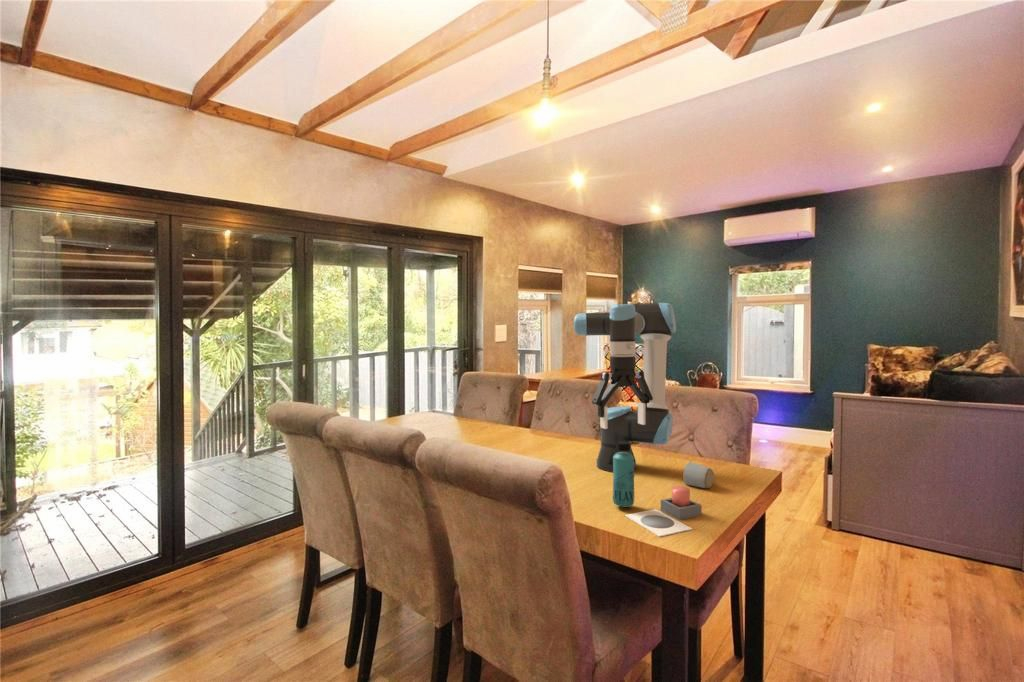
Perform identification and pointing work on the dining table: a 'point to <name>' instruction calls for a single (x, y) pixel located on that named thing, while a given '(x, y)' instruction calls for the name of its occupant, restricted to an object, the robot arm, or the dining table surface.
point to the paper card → (658, 522)
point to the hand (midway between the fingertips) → (623, 426)
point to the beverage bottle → (623, 476)
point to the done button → (680, 496)
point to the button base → (681, 509)
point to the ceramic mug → (698, 475)
